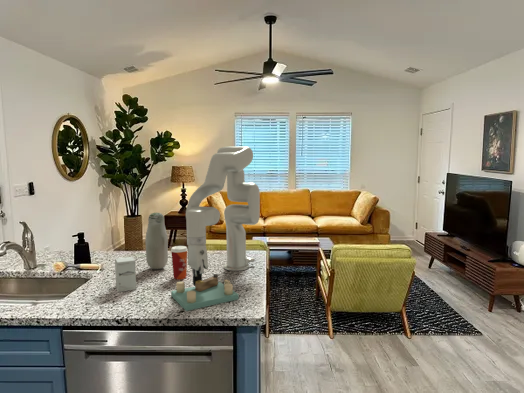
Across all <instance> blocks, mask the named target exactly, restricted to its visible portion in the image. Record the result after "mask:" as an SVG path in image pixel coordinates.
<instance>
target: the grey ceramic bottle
mask: <svg viewBox="0 0 524 393" xmlns="http://www.w3.org/2000/svg"><path fill="white" fill-rule="evenodd" d="M147 220H148V221H147V222H148V224H147V229H146V232H145V233H146V234H145V239H144V240H145V242H144V243H145V258H146V263H147V265H148V267H149V268H150V269H152V270H162V269H164V268H165V267H166V266H167V264H168V259H169V252H168V251H169V249H168V247H169V245H168V244H169V243H168V242H169V241H168V240H169V239H168V238H169V237H168V233H167V229H166V225H165V216H164V214H163V213H161V212H153V213H150V214H149V215H148V218H147Z"/></svg>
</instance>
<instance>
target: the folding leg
mask: <svg viewBox="0 0 524 393" xmlns="http://www.w3.org/2000/svg"><path fill="white" fill-rule="evenodd" d="M218 282H219V274H218V273H213V275H212V276H211V277H208V278H205V279H202V281H201V280H198V281H196V283H195V286H194V287H195V290H197V291H203V290H205V289H208V288H210V287H213V286H216V285H218Z"/></svg>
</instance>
